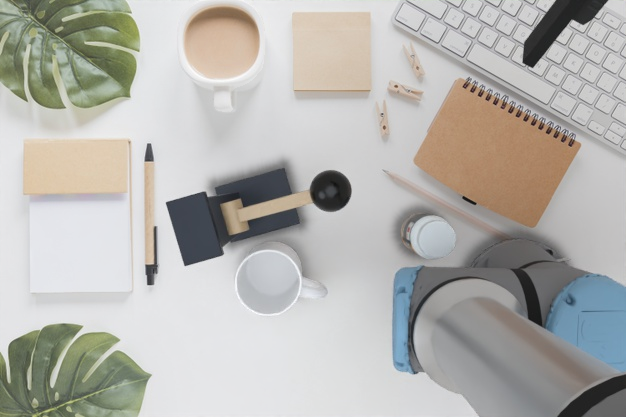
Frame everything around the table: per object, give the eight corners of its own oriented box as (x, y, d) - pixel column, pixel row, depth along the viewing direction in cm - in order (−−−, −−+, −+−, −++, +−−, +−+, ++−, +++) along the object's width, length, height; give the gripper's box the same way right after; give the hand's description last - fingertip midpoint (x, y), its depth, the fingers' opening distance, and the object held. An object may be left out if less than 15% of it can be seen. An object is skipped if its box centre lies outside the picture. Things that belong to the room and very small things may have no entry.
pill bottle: (397, 249, 77) (410, 258, 68) (404, 209, 77) (418, 213, 67) (436, 255, 78) (455, 266, 68) (443, 215, 77) (464, 220, 67)
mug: (334, 258, 77) (339, 270, 67) (316, 313, 78) (318, 334, 67) (254, 232, 77) (246, 240, 67) (236, 288, 77) (225, 304, 67)
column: (239, 187, 75) (204, 191, 49) (251, 229, 76) (222, 255, 49) (214, 195, 75) (165, 202, 49) (226, 236, 76) (184, 266, 49)
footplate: (284, 167, 77) (284, 167, 75) (300, 222, 77) (299, 223, 76) (215, 187, 77) (214, 187, 75) (231, 242, 77) (230, 243, 76)
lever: (351, 163, 47) (336, 167, 44) (362, 203, 48) (348, 209, 44) (230, 198, 53) (209, 203, 50) (241, 233, 53) (220, 241, 50)
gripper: (981, -347, 22) (602, 65, 38) (431, -664, 21) (277, -103, 37) (1106, -346, 17) (609, 128, 33) (390, -763, 16) (233, -64, 32)
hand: (433, 7), depth 35 cm, fingers open, 13 cm apart
